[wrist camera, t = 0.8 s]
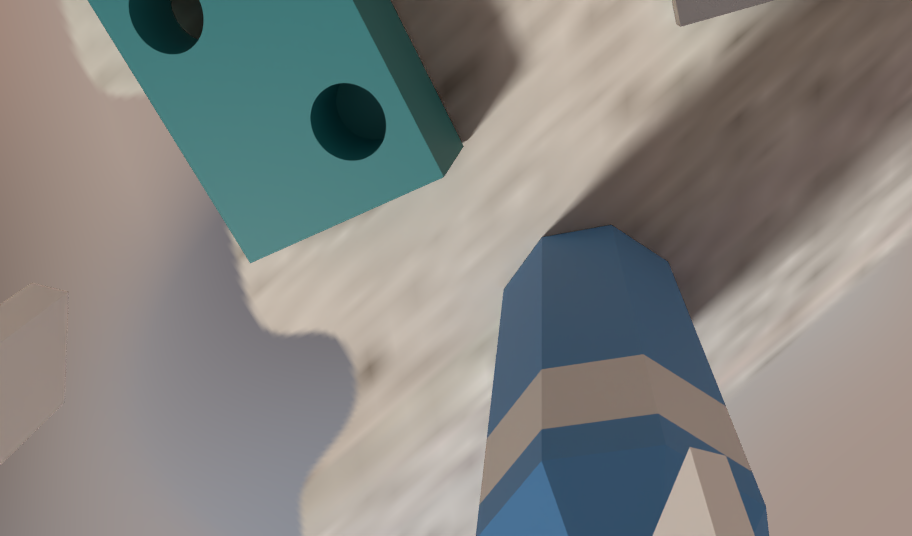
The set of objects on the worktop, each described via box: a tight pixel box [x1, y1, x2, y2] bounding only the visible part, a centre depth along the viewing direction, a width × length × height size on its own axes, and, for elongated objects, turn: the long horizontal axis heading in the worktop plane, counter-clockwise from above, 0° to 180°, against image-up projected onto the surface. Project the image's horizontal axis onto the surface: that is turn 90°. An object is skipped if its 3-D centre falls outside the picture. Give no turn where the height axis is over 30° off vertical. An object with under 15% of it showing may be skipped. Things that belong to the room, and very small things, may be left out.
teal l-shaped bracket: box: [88, 0, 463, 263], centre depth 34 cm, size 18×11×10 cm, turn 27°
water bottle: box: [476, 225, 769, 536], centre depth 31 cm, size 9×9×25 cm
